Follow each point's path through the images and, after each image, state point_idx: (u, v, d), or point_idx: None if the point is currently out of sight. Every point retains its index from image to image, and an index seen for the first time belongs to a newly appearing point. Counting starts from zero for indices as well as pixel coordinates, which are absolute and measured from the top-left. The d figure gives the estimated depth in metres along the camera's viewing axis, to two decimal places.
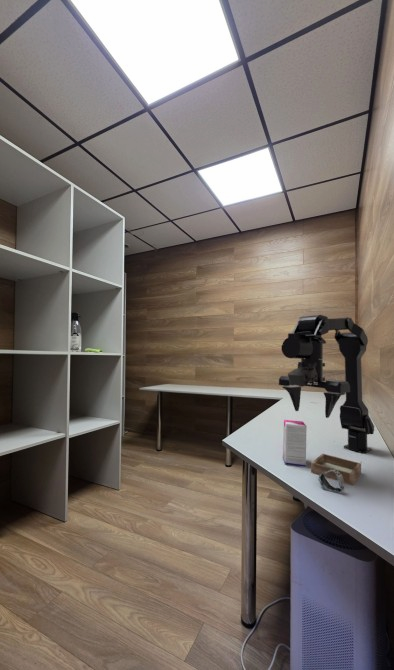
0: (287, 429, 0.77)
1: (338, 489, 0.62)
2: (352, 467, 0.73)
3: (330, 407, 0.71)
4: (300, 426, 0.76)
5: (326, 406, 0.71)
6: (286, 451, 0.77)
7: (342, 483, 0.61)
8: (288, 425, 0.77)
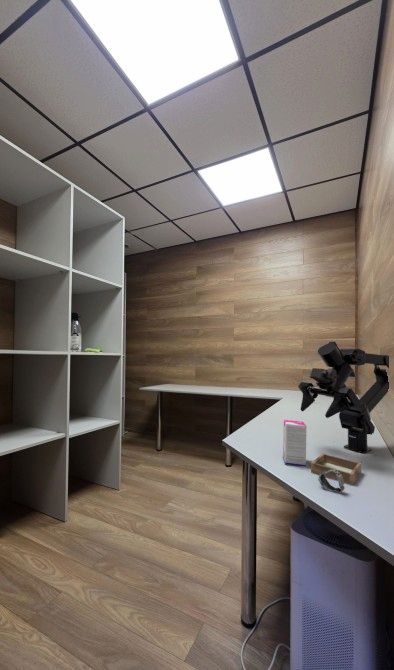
0: (287, 429, 0.77)
1: (338, 489, 0.62)
2: (352, 467, 0.73)
3: (333, 409, 0.79)
4: (300, 426, 0.76)
5: (330, 406, 0.79)
6: (286, 451, 0.77)
7: (342, 483, 0.61)
8: (288, 425, 0.77)
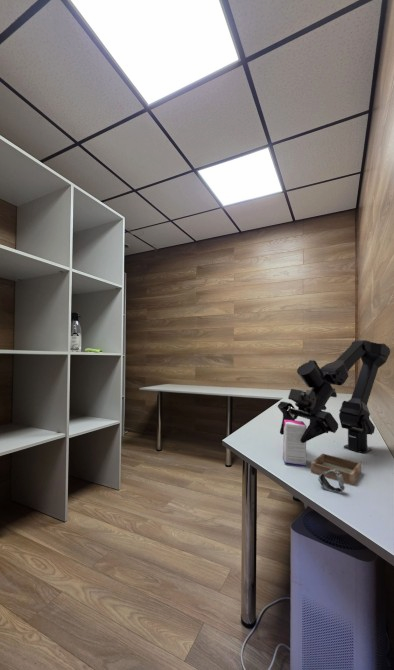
0: (287, 429, 0.77)
1: (338, 489, 0.62)
2: (352, 467, 0.73)
3: (309, 433, 0.75)
4: (300, 426, 0.76)
5: (306, 430, 0.75)
6: (286, 451, 0.77)
7: (342, 483, 0.61)
8: (288, 424, 0.77)
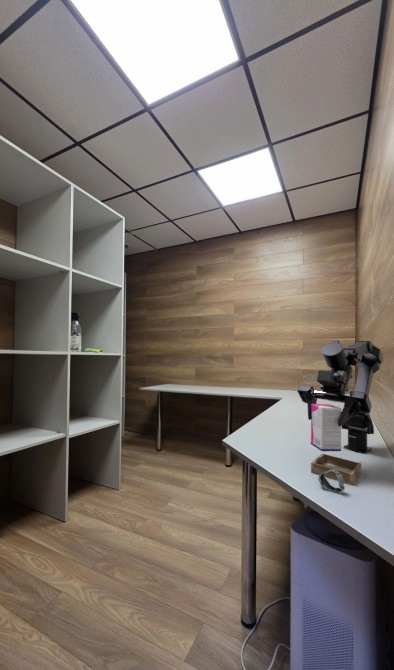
0: (323, 413, 0.71)
1: (338, 489, 0.62)
2: (352, 467, 0.73)
3: (345, 416, 0.71)
4: (335, 409, 0.72)
5: (342, 413, 0.71)
6: (322, 437, 0.71)
7: (342, 483, 0.61)
8: (324, 408, 0.72)
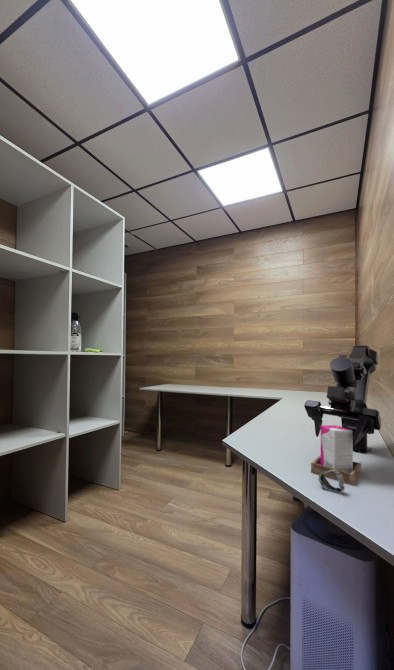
0: (335, 436, 0.70)
1: (338, 489, 0.62)
2: None
3: (360, 434, 0.69)
4: (347, 431, 0.71)
5: (356, 431, 0.70)
6: (335, 461, 0.69)
7: (342, 483, 0.61)
8: (336, 431, 0.70)
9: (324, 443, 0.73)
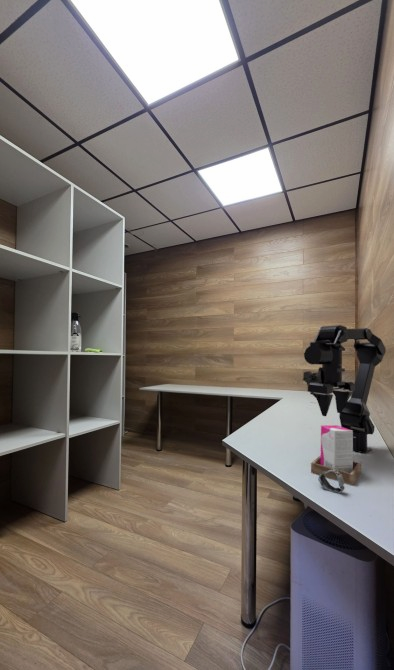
0: (336, 436, 0.70)
1: (338, 489, 0.62)
2: None
3: (321, 406, 0.82)
4: (347, 432, 0.71)
5: None
6: (335, 461, 0.69)
7: (342, 483, 0.61)
8: (336, 431, 0.70)
9: (324, 443, 0.73)
